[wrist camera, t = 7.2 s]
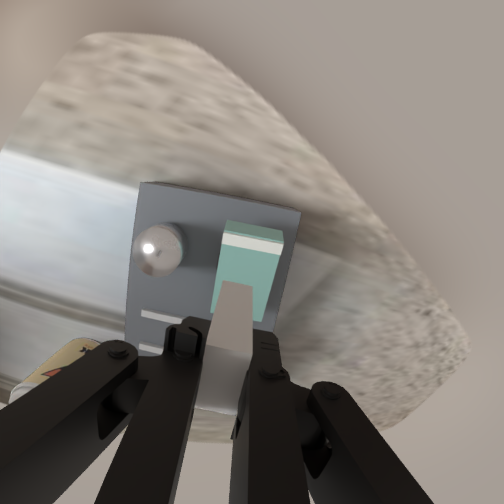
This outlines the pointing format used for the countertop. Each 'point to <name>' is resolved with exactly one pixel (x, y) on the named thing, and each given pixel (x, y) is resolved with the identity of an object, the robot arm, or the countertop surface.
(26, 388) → the coffee cup
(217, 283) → the block
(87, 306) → the countertop surface
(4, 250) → the countertop surface
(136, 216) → the console
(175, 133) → the countertop surface
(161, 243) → the plunger
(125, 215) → the countertop surface
